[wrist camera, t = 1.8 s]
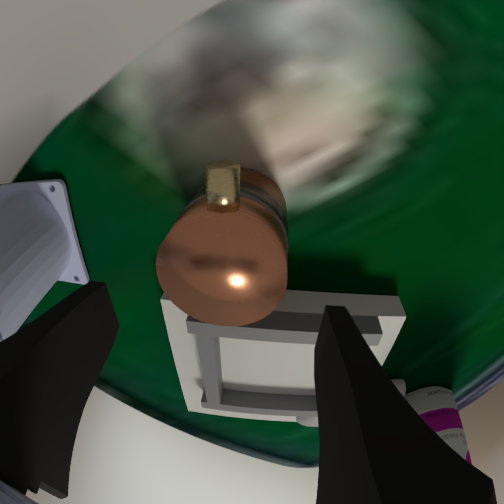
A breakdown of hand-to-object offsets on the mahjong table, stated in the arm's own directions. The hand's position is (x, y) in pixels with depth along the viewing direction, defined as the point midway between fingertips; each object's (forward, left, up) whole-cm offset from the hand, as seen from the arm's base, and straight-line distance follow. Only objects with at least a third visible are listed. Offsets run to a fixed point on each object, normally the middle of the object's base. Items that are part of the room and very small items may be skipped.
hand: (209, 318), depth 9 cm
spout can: (0, 0, -8) cm, 8 cm away
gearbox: (+5, -12, -8) cm, 15 cm away
